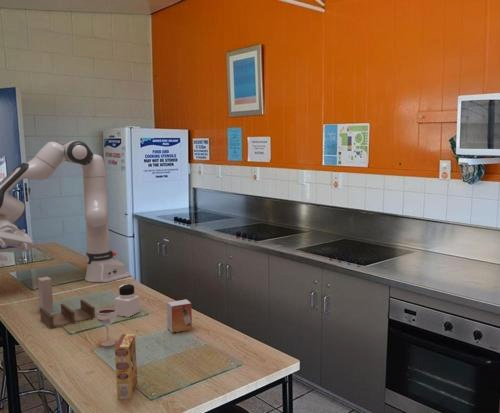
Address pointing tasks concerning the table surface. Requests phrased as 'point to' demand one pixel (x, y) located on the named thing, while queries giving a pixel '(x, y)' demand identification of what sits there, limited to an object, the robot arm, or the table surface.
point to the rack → (68, 315)
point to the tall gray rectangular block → (45, 294)
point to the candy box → (126, 366)
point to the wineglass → (107, 321)
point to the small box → (179, 316)
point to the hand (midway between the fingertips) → (15, 248)
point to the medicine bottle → (127, 301)
